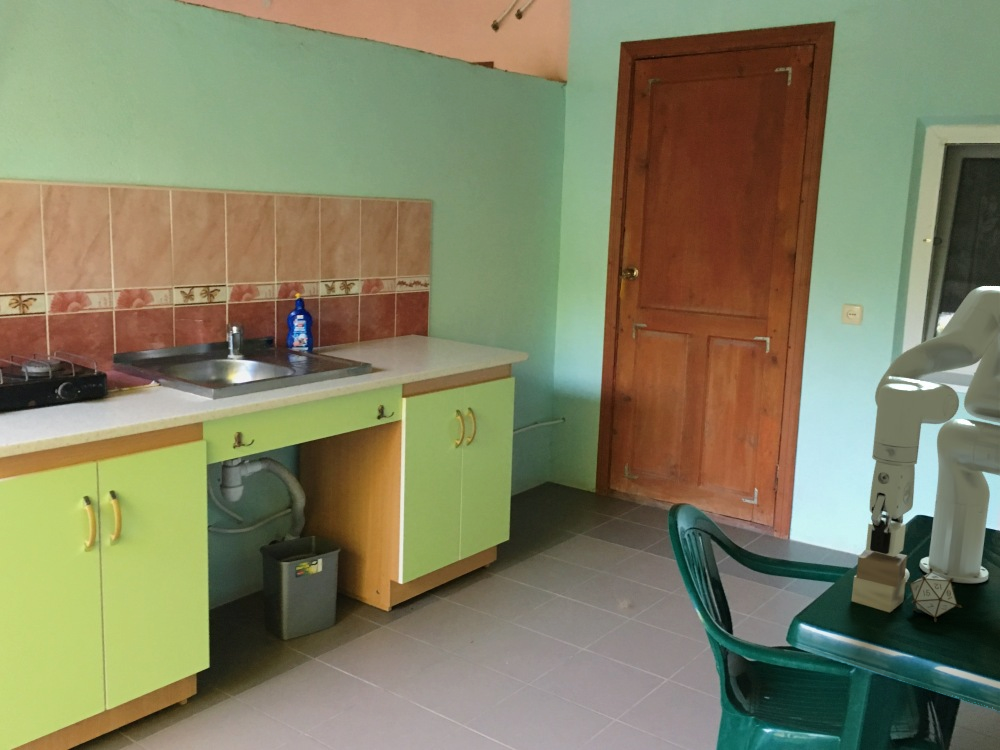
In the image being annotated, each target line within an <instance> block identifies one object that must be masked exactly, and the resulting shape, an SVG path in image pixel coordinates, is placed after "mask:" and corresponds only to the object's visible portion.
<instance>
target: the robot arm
mask: <svg viewBox="0 0 1000 750" xmlns="http://www.w3.org/2000/svg"><path fill="white" fill-rule="evenodd" d="M978 362H979V363H978ZM977 363H978V366H977V368H976V370H975V371H974V374H973V377H972V379H971V381H970V384H969V385H968V388H967V390H966V393H965V396H964V400H963V401H964V403H963V406H964V409H965V411H966V412H967V414H969V415H971V416H972V417H975V418H976V419H981V420H985V421H981V420H980V421H979V420H974V419H968V418H956V419H953V418H954V417H955V415H956V414H957V412H958V410H959V406H960V405H959V404H960V397H959V395H958V393H957V392H956V391H955V389H954V388H953V387H951V386H949V385H947V384H944V383H941V382H934V381H928V380H924V379H921V378H923V377H925V376H928V375H931V374H935V373H939V372H946V371H947V372H948V371H953V370H958V369H963V368H967V367H970V366H973V365H975V364H977ZM874 393H875V394H874V395H875V396H874V400H875V401H874V402H875V405H876V406H877V408H876V417H875V427H874V436H873V437H874V438H873V445H872V446H873V447H872V455H871V456H872V458H871V459H873V460H874V461H875V465H874V470H873V476H872V481H871V482H872V483H871V487H870V494H869V495H870V497H869V512H870V513H871V516H870V519H871V522H872V523H873V524H872V534H871V544H870V550H872V551H875V552H879V553H883V554H888V553H889V546H890V537H891V533H889V529H890V524H891V521H895V522H899V523H903V522H904V515H905V514H907V513H908V512H910V511H911V510H912V508H913V506H914V497H915V496H914V495H915V493H914V492H915V478H916V477H915V476H916V475H915V473H916V472H915V471H916V469H915V468H916V467H915V466H916V464H917V463H918V458H919V457H918V456H919V449H920V448H919V447H920V440H921V439H920V438H921V431H922V430H921V428H922V425H923V424H928V425H930V424H931V425H941V424H942V426H941V427H940V428H939V430H938V433H937V437H936V438H937V439H936V450H937V459H938V461H937V462H938V465H937V466H938V475H937V487H936V493H935V494H936V496H935V501H934V502H935V503H934V511H933V512H934V513H933V520H932V529H931V538H930V539H931V540H930V545H929V552H928V554H929V555H928V556H926V557H923V558H921V559H920V561H919V567H920V569H921V570H922V572H924V573H926V574H928V573H930V570H929V569H930V568H932V569H933V570H932V573H935V574H937V575H939V576H941V577H943V578H945V579H947V580H950V579H951V578H954V579H953V581H951V583H952V582H954V583H958V584H979V583H981V584H982V583H984V582H986V581H988V579H989V574H990V573H989V571H988V570H987V568H985V567H984V566H982V560H983V559H982V558H983V552H984V543H985V537H986V527H987V519H988V511H989V506H990V505H989V503H990V497H991V495H990V486H989V484H988V481H987V479H986V477H985V475H984V473H988V474H992V475H995V476H1000V425H998V424H993V423H990V422H994V423H999V424H1000V286H996V285H995V286H994V285H993V286H991V285H990V286H987V285H986V286H985V285H984V286H980V287H976V288H974V289H972V290H971V291H970V292H969V293H968V294H967V295H966V297H964V299H963V301H962V302H961V304H959V306H958V308H957V309H956V311H954V314H953V315H952V316H951V318H950V319H949V321H948V323H947V324H946V325H945V326H944V328H943V329H942V331H941V332H940V333H939V334H938V335H937V336H935V337H932V338H930V339H927V340H925V341H923V342H921V343H919V344H917V345H915V346H913V347H912V348H910V349H907V350H906V351H904V352H902V353H901V354H900V355H898V357H896V358H895V359H894V360H893V362H892V363H891V364H890V365H889V367H888V369H887V370H886V371H885V372H884V374H883V376H882V377H881V379H880V380H879V382H878V383H877V387H876V390H875V392H874ZM986 421H988V422H986ZM883 512H885V514H884V513H883ZM882 519H886V523H885V522H884V520H882ZM903 524H904V523H903Z"/></svg>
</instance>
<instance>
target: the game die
mask: <svg viewBox="0 0 1000 750" xmlns="http://www.w3.org/2000/svg"><path fill="white" fill-rule="evenodd" d="M929 570H930V573H926V574H925V575H922V576H921V577H920V578H918V579H916V580H914V581H912V582H911V583H910V582H909V581H907V582H905V583H906V584H905V586H906V585H907V586H909V587H910V590H911V591H910V592H911V594H912V599H913V600H911V604H914V605H915V606H914V607H913V608H912V611H915V612H916V611H917V610H919V611H920V612H923V613H925V614H928V615H929V616H931V617H933V621H934V623H937V621H938V619H937V617H939V616H941V615H942V614H945V613H946V612H948V611H950V610H952V609H954V608H955V607H957V608H962V605H961V604H958V603H957V598H956V595H955V592H954V591H955V590H954V589H955V586H954V585H952V581H953V579H954V578H951V579H950V580H947V579H945V578H943V577H941V576H939V575H937V574H935V573H932V570H933V569H932V568H930V569H929Z"/></svg>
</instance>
